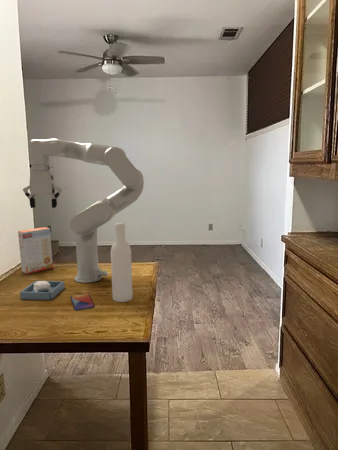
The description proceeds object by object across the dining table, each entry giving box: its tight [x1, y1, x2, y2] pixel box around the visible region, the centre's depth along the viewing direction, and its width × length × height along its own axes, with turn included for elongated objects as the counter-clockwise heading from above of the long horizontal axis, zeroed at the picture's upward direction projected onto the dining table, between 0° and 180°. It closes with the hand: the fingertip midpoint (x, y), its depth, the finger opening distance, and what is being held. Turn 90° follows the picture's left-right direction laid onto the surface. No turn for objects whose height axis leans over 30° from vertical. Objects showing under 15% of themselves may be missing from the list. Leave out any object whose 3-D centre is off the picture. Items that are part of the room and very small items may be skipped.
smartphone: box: [70, 292, 95, 311], centre depth 136 cm, size 7×15×1 cm, turn 21°
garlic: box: [34, 280, 51, 292], centre depth 144 cm, size 8×7×4 cm
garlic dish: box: [19, 280, 66, 301], centre depth 146 cm, size 13×14×3 cm
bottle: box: [110, 221, 134, 303], centre depth 137 cm, size 8×8×30 cm
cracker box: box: [17, 226, 54, 275], centre depth 176 cm, size 14×6×21 cm, turn 136°
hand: (43, 207), depth 157 cm, fingers open, 9 cm apart
